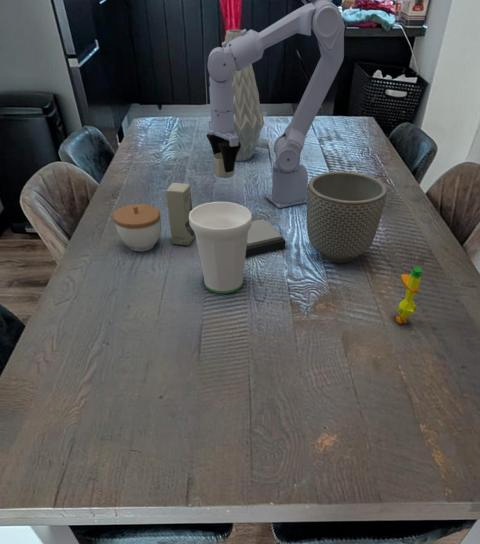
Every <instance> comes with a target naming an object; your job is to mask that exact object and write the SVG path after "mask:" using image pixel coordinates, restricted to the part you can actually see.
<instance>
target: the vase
mask: <svg viewBox="0 0 480 544" xmlns="http://www.w3.org/2000/svg"><path fill="white" fill-rule="evenodd" d="M242 30H243V29H238V28H237V29H228V30H226V31H225V32H226V33H225V35H224V42H225V41H226V43H228V42H230V41H232V40H233V39H235V38H237V37H239V36H240V35H241V31H242ZM231 78H232V87H233V107H234V128H235V132H236V136H237V137H238V142H239V143H241V147H240V149H239V151H238V153H237V156H236V160H235V162H241V161H242V162H243V161H248V160H250V159H251V158H252V157H253V154H254V151H255V150H256V148H257V146H258V143H259V140H260V137H261V132H262V131H261V130H262V129H263V128H264V125H265V119H264V115H263V109H262V106H261V103H260V93H259V90H258V86H257V81H256V74H255V71H254V68H253V63H252V64H250V65H248V66H247V67H245V68H243V69H241V70H239V71H233V73H232V76H231Z"/></svg>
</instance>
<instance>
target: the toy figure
mask: <svg viewBox="0 0 480 544" xmlns="http://www.w3.org/2000/svg"><path fill="white" fill-rule="evenodd" d="M422 271H423V269H422V268H421V267H419V266H415V267H413V269H412V270H411V271H410V273H409V274H408V273H403V274H401V277H400V280H401V282H402V284H403V286H404V288H406V289H405V296H404V299H402V300H401V301H400V302H399V305H398V307H397V308H396V309H397V312H398V314H399V315H397V316H395V321H396V322H397V323H399V324H400V325H401V324H407V323H408V321H407V319H408V318H409V317H410V316H412V315H413V314H414V312H415V311H416V310H417V308H418V306H417V304H415V301H414V298H415V296H416V294H417V293H418V292H419V291H420V284H421V279H422V277H423V273H422Z"/></svg>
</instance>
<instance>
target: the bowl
mask: <svg viewBox="0 0 480 544" xmlns="http://www.w3.org/2000/svg"><path fill="white" fill-rule="evenodd" d="M212 159H213V161H212V163H213V173H214V175H215V176H216V177H217V178H221V179H229V178H231V177H234V175H235V173H236V164H235V165H234V170H233V172H225V169H224V163H223V157H222V153H217V154H215V155H214V154H213V155H212Z"/></svg>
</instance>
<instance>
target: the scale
mask: <svg viewBox="0 0 480 544" xmlns="http://www.w3.org/2000/svg"><path fill="white" fill-rule="evenodd" d="M286 241H287V240H286V239H285V238H283V235H282V234H281V233H280V232H278V231H277V230H276V229H275V228H274V227H273V226H272V225H271V224H269V222H267V221H266V220H265V219H264V218H262V219H257V220H253V221H252V220H251V228H250V229H249V231H248V237H247V246H246V256H245V259H246V258H250V257H254V256H258V255H262V254H267V253H270V252H275V251H279V250H282V249H283V250H284V249H286V245H287V243H286Z"/></svg>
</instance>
